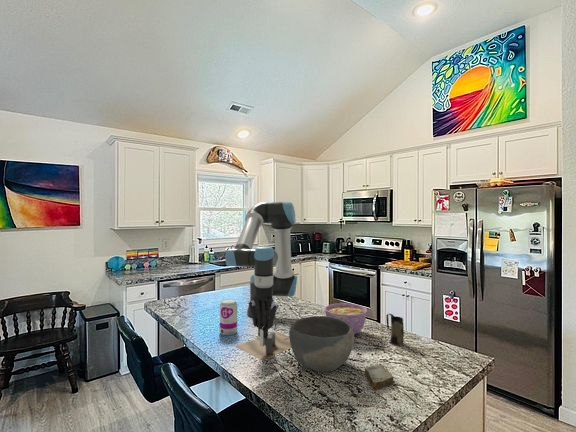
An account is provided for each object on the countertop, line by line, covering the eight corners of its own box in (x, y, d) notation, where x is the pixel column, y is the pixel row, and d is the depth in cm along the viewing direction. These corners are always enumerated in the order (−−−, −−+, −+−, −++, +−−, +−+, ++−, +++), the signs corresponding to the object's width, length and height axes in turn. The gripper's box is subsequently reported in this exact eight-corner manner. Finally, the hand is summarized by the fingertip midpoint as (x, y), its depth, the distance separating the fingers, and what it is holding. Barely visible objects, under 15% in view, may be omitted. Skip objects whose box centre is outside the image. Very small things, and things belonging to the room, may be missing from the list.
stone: (361, 370, 120) (361, 361, 120) (384, 370, 121) (384, 361, 121) (372, 391, 106) (372, 382, 106) (398, 391, 106) (398, 382, 106)
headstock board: (274, 333, 157) (274, 330, 156) (305, 345, 142) (305, 342, 142) (231, 347, 140) (231, 344, 140) (261, 362, 125) (261, 358, 125)
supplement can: (233, 336, 153) (233, 304, 153) (217, 335, 155) (217, 303, 155) (239, 330, 161) (239, 299, 161) (223, 329, 163) (223, 298, 162)
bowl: (338, 389, 107) (338, 342, 107) (276, 370, 120) (276, 328, 120) (364, 360, 127) (364, 321, 127) (308, 347, 140) (308, 311, 140)
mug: (406, 344, 144) (406, 316, 144) (398, 347, 141) (398, 318, 141) (391, 338, 150) (391, 312, 150) (383, 341, 147) (383, 314, 147)
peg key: (266, 334, 151) (266, 321, 151) (276, 334, 151) (276, 321, 151) (263, 354, 130) (263, 338, 130) (274, 354, 130) (274, 338, 130)
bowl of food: (371, 329, 162) (371, 306, 162) (362, 344, 144) (362, 317, 144) (331, 323, 170) (331, 301, 170) (318, 336, 152) (318, 311, 152)
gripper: (244, 285, 131) (244, 345, 131) (273, 289, 125) (272, 351, 125) (254, 282, 138) (254, 338, 138) (282, 285, 132) (281, 344, 132)
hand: (262, 344), depth 131 cm, fingers closed
